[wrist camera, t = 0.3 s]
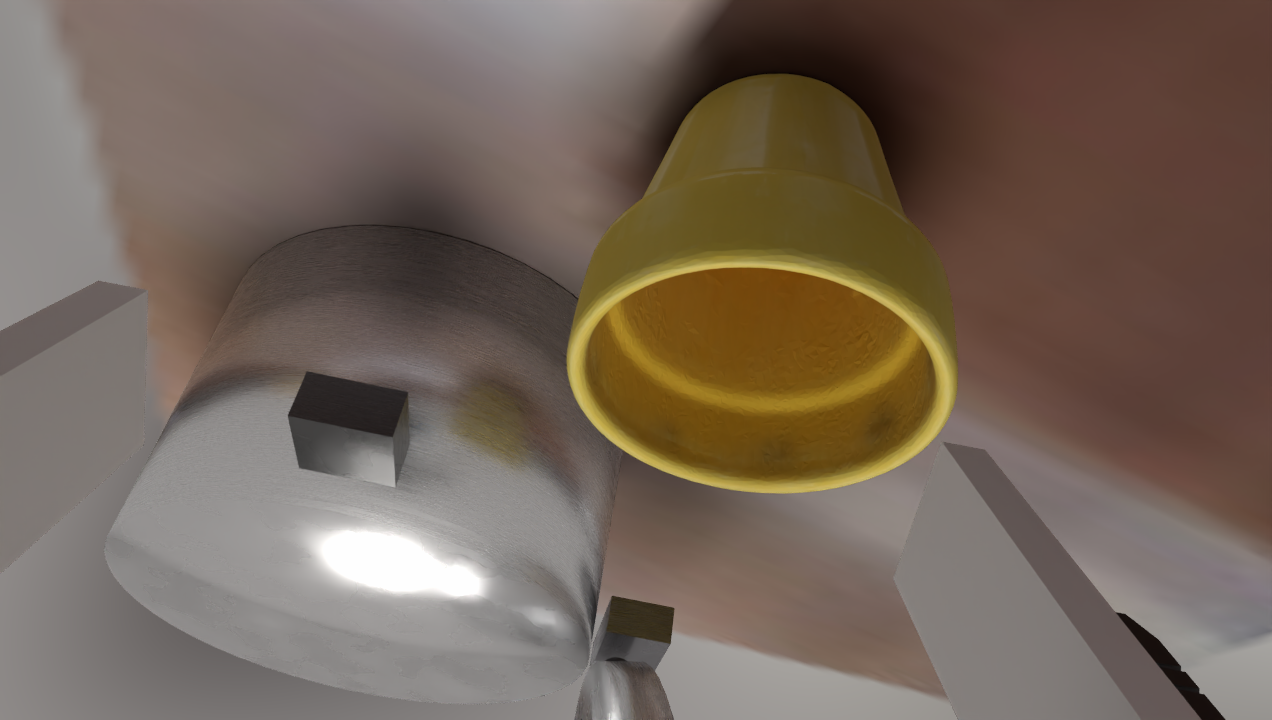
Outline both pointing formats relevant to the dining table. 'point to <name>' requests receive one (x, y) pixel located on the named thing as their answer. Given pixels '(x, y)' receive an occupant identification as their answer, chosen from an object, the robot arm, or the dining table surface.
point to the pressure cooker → (387, 479)
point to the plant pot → (767, 302)
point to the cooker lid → (622, 692)
